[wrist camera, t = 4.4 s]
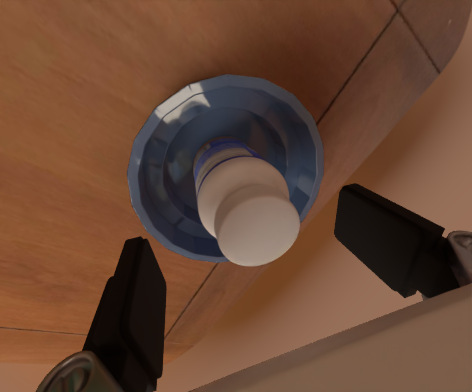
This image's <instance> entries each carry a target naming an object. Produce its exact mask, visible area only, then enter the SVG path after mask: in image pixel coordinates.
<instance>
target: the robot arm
mask: <svg viewBox="0 0 472 392" xmlns="http://www.w3.org/2000/svg"><path fill="white" fill-rule="evenodd" d="M444 230H445V228H443V227H441V226H439V225H437V224H435V223H433V222H431V221H429V220H427V219H425V218H423V217H421V216H420V215H418V214H416V213H414V212H412V211H410V210H407V209H406V208H404V207H402V206H400V205H398V204H396V203H394V202H392V201H390V200H388V199H386V198H384V197H382V196H380V195H378V194H376V193H374V192H372V191H370V190H368V189H366V188H364V187H363V186H360V185H359V184H350V185H346V186H343V187H342V189H341V190H340V192H339V199H338V207H337V215H336V222H335V229H334V234H335V237H336V238H337V239H338V240H339V241H340V242H341V243H342V244H343V245H344V246H345V247H346V248H347V249H349V250H350V251H351V252H352V253H353V254H354V255H355V256H356V257H357V258H358V259H359V260H360V261H362V262H363V263H364V264H365V265H366V266H367V267H368V268H369V269H370V270H372V272H374V273H375V274H376V275H377V276H378V277H379V278H380V279H381V280H383V282H385V283H386V284H387V285H388V286H389V287H390V288H391V289H392V290H394V291H397V292H398V293H399V294H400V295H402V296H403V297H404V298H406V297H409V296H412V295H414V294H416V291H417V290H418V291H419V292H420V293H422V298H423V301H422V302H419V303H416V304H414V305H411V306H408V307H406V308H403V309H400V310H397V311H395V312H392V313H389V314H387V315H384V316H381V317H379V318H376V319H374V320H371V321H368V322H366V323H363V324H360V325H358V326H355V327H353V328H350V329H347V330H345V331H342V332H339V333H337V334H334V335H332V336H329V337H327V338H324V339H321V340H318V341H316V342H313V343H311V344H308V345H306V346H303V347H300V348H298V349H295V350H292V351H290V352H287V353H285V354H282V355H279V356H277V357H274V358H272V359H269V360H267V361H264V362H261V363H259V364H256V365H254V366H251V367H249V368H246V369H243V370H241V371H238V372H236V373H233V374H231V375H228V376H226V377H223V378H221V379H218V380H216V381H213V382H211V383H209V384H206V385H204V386H201V387H199V388H196V389H194V390H192V391H189V392H472V232H469V231H453V232H450V233H449V234H448V236H447V238H444V237H442V234H443V232H444ZM165 310H166V282H165V279H164V277H163V274H162V272H161V270H160V267H159V265H158V263H157V260H156V258H155V255H154V253H153V251H152V248H151V246H150V244H149V241H148V240H147V239H143V238H142V237H136V238H132V239H128V240H126V241H125V244H124V247H123V250H122V253H121V256H120V259H119V262H118V264H117V267H116V270H115V273H114V276H112V277H110V278H109V279H108V281H107V283H106V286H105V289H104V292H103V294H102V297H101V300H100V303H99V305H98V308H97V311H96V314H95V316H94V319H93V322H92V324H91V327H90V330H89V333H88V335H87V338H86V341H85V344H84V346H83V349H82V351H81V352H77V353H74V354H72V355H70V356H68V357H67V358H65V359H64V360H63V361H61V362H60V363H59V364H57V365H56V366H55V367H54V368H53V369H52V370H51V371H50V372H49V373H48V374H47V376H46V377H45V378H44V380H43V381H42V382H41V384H40V385H39V386H38V388H37V390H36V392H153V391H156V386H157V379H158V378H160V377H161V376H162V370H163V351H164V330H165Z"/></svg>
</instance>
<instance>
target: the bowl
mask: <svg viewBox="0 0 472 392" xmlns="http://www.w3.org/2000/svg"><path fill="white" fill-rule="evenodd" d="M217 137H234V138H237V139H239V140H241V141H243V142H244V143H245V144H247V145H248V146H249V147H250V148H252V149H253V150H254V151H255V152H256V153H257V154H259V155H260V156H261V157H262V158H264V159H265V160H266V161H267V162H269V163H270V164H271V165H272V166H273V167H275V168H276V169H277V170H278V171H279V172H280V174H281V175H282V176H283V178H284V179H285V181H286V184H287V186H288V191H289V200H290V202H291V203H292V204H293V205H294V207H295V208H296V210H297V212H298V214H299V218H300V223H301V222H302V221H303V220H304V218H305V217H306V215H307V213H308V212H309V210H310V208H311V207H312V205H313V203H314V202H315V200H316V198H317V195H318V191H319V188H320V184H321V181H322V177H323V174H324V147H323V143H322V140H321V137H320V134H319V131H318V129H317V126H316V123H315V120H314V118H313V116H312V115H311V114H310V113H309V112H308V110H307V109H306V108H305V107H304V106H303V104H302V103H301V102H300V101H299V100H298V98H297V97H296V96H295V95H293V94H292V93H291V92H289V91H287V90H285V89H283V88H281V87H279V86H278V85H276V84H274V83H272V82H270V81H268V80H267V79H264V78H259V77H251V76H242V75H234V74H224V75H220V76H216V77H212V78H208V79H205V80H201V81H197V82H193V83H190V84H187V85H186V86H184V87H183V88H181V89H180V90H179V91H177V92H176V93H174V94H173V95H172V96H170V97H169V98H167V99H166V100H165V101H163V102H162V103H161V104H159V105H158V106H156V108H155V109H154V110H153V112H152V113H151V115H150V116H149V118H148V119H147V121H146V122H145V124H144V125H143V127H142V128H141V130H140V131H139V133H138V134H137V136H136V137H135V140H134V142H133V147H132V151H131V156H130V161H129V165H128V170H127V179H128V185H129V192H130V198H131V204H132V207H133V209H134V210H135V212H136V214H137V215H138V217H139V219H140V221H141V222H142V224H143V226H144V228H145V229H146V231H147V232H148V233H149V234H150V235H152V236H153V237H154V238H155V239H156V240H157V241H159V242H160V243H161V244H162V245H163V246H164V247H166V248H167V249H168V250H171V251H173V252H175V253H178V254H180V255H182V256H185V257H187V258H189V259H193V260H200V261H208V262H215V263H216V262H217V263H219V262H228V261H230V260H229V259H227V258H226V257H225V256H224V254H223V253H222V251H221V250H220V248H219V245H218V241H217V238H215V237H214V236H212V235H211V234H210V233H209V232H208V231H207V230H206V228H205V227H204V225H203V224H202V222H201V219H200V216H199V212H198V205H197V196H196V188H195V180H194V174H193V163H194V159H195V156H196V154H197V152H198V150H199V149H200V148H201V147H202V146H203V145H204V144H205V143H206V142H208V141H209V140H211V139H214V138H217Z"/></svg>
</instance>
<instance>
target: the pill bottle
mask: <svg viewBox="0 0 472 392" xmlns="http://www.w3.org/2000/svg"><path fill="white" fill-rule="evenodd" d="M193 174H194V180H195V188H196V196H197V205H198V212H199V216H200V219H201V222H202V224H203V225H204V227H205V228H206V230H207V231H208V232H209V233H210V234H211V235H212V236H214V237H215V238H217V241H218V245H219V248H220V250H221V251H222V253H223V254H224V256H225V257H226V258H227V259H229V260H230V261H231V262H233V263H236V264H238V265H242V266H259V265H263V264H266V263H269V262H271V261H273V260H275V259H277V258H278V257H280V256H281V255H283V254H284V253H285V252H286V251H287V250H288V249H289V248H290V247H291V246H292V244H293V243H294V241H295V240H296V238H297V235H298V232H299V228H300V218H299V214H298V212H297V210H296V208H295V207H294V205H293V204H292V203H291V202H290V200H289V191H288V186H287V184H286V181H285V179H284V178H283V176H282V175H281V174H280V172H279V171H278V170H277V169H276V168H275V167H273V166H272V165H271V164H270V163H269V162H267V161H266V160H265V159H264V158H262V157H261V156H260V155H259V154H257V153H256V152H255V151H254V150H253V149H252V148H250V147H249V146H248V145H247V144H245V143H244V142H243V141H241V140H239V139H237V138H234V137H217V138H214V139H211V140H209V141H208V142H206V143H205V144H204V145H203V146H202V147H201V148H200V149H199V150H198V152H197V154H196V156H195V159H194V163H193Z"/></svg>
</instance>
